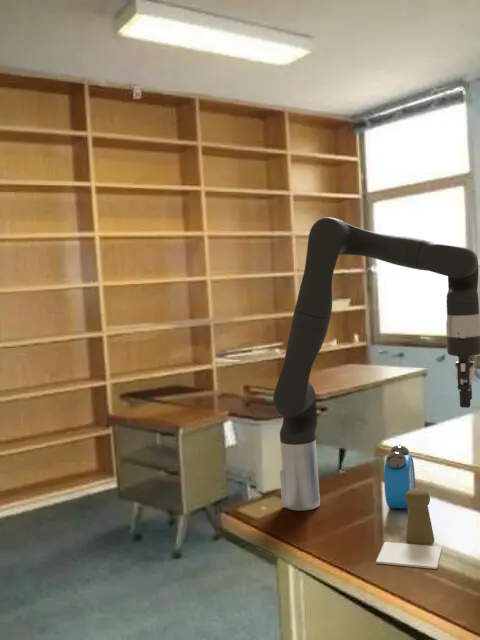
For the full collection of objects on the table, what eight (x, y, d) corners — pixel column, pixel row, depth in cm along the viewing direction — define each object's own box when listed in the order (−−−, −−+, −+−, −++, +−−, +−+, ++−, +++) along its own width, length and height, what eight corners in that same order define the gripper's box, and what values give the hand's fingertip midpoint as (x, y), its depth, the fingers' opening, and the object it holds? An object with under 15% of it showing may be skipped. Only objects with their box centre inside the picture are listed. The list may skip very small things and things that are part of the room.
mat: (376, 563, 133) (376, 561, 133) (384, 543, 142) (384, 541, 142) (436, 569, 129) (436, 567, 129) (441, 548, 138) (441, 546, 138)
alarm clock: (411, 517, 156) (407, 456, 156) (385, 516, 159) (381, 455, 158) (416, 499, 169) (413, 442, 168) (392, 498, 171) (388, 441, 170)
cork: (430, 546, 139) (427, 496, 139) (402, 542, 142) (399, 493, 142) (437, 536, 144) (434, 487, 144) (410, 532, 148) (407, 484, 147)
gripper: (449, 331, 158) (451, 397, 159) (444, 337, 145) (446, 409, 146) (481, 330, 156) (484, 397, 157) (479, 337, 142) (482, 410, 143)
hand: (466, 403), depth 151 cm, fingers open, 8 cm apart
